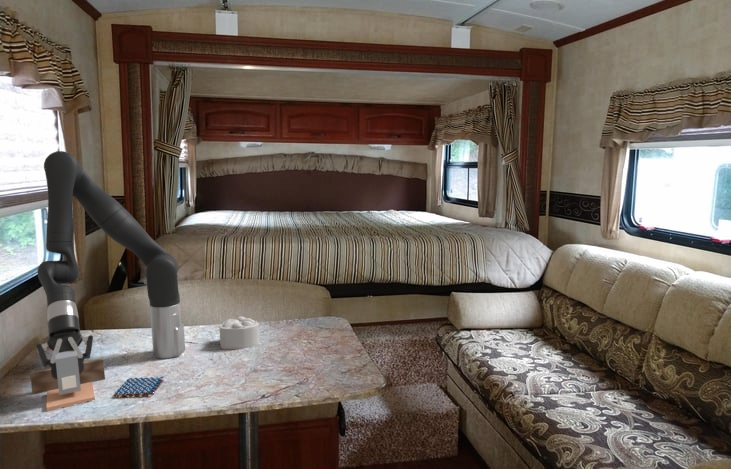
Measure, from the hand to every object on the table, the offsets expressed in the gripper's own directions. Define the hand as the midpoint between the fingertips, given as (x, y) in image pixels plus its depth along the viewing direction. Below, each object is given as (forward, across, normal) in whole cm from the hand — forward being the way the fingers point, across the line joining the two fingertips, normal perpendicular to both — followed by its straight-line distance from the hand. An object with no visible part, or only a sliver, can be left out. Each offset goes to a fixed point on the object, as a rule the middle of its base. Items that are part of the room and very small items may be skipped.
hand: (68, 375), depth 135 cm
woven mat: (+8, +17, +4) cm, 19 cm away
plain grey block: (+2, 0, +5) cm, 5 cm away
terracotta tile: (+4, 0, +6) cm, 7 cm away
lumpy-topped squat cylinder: (-6, +52, +17) cm, 55 cm away
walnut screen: (-2, 0, +12) cm, 13 cm away
